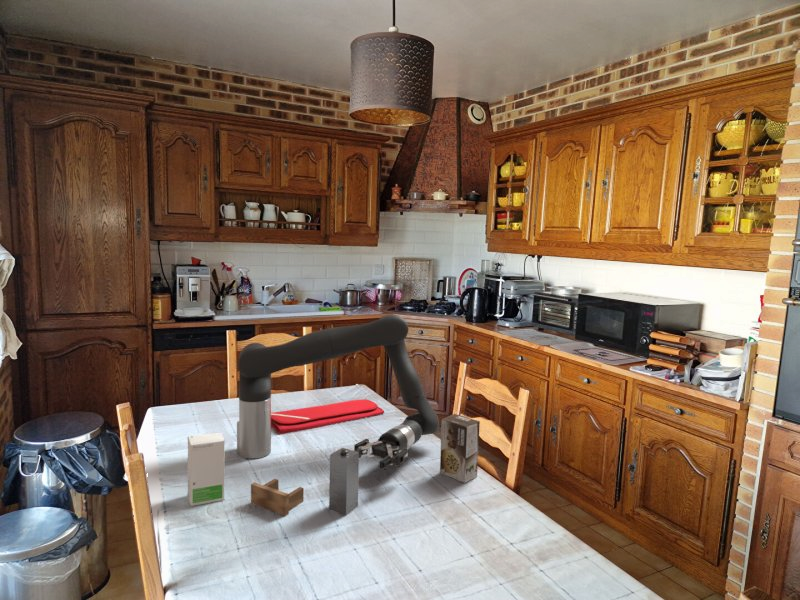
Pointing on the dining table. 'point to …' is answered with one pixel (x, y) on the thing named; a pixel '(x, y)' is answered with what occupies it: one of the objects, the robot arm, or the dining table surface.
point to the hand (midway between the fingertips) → (366, 461)
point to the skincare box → (206, 468)
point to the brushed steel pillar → (343, 481)
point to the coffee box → (459, 447)
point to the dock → (275, 497)
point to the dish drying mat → (323, 415)
